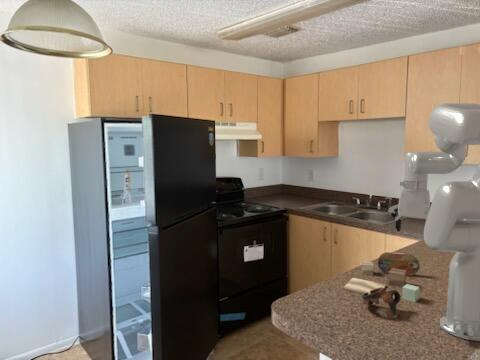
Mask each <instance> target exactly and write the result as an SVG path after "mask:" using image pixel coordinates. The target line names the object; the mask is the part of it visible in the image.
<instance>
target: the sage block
mask: <svg viewBox="0 0 480 360" xmlns="http://www.w3.org/2000/svg"><path fill="white" fill-rule="evenodd" d="M401 289H402V291H401V299H402V300H405V301H408V302H413V303H416V302H417V301H418V300H419V299H420V286H416V285H412V284H408V283H406V284H405V286H403V287H402V288H401Z"/></svg>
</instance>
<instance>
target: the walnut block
mask: <svg viewBox="0 0 480 360" xmlns="http://www.w3.org/2000/svg"><path fill="white" fill-rule="evenodd" d="M406 284H407V276H406V270H400V269H395V268H392V269H391V270H390V271H389V274H388V286H392V287H396V288H401V289H402V287H403V286H405V285H406Z"/></svg>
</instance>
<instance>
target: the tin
mask: <svg viewBox="0 0 480 360" xmlns="http://www.w3.org/2000/svg"><path fill="white" fill-rule="evenodd" d="M377 265H378V269H379V270H380V271H381V272H382V273H384V274H387V275H389V271H390V270H391V269H392V268H395V269H400V270H406V277H408V276H414V275H416V274H417V273H418V272H419V270H420V262H419V259H418V258H417V257H416V256H415V255H413V254H410V253H405V252H403V253H402V252H393V251H392V252H390V251H389V252H387V251H385V252H383V253H381V254H380V255H379V257H378V259H377Z"/></svg>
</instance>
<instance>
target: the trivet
mask: <svg viewBox="0 0 480 360" xmlns="http://www.w3.org/2000/svg"><path fill="white" fill-rule="evenodd" d="M381 287H383V288H384V289H385V288H386V287H387V284H386V283H381V282H378V281H377V282H376V281H372V280H366V279H361V278H356V277H352V278H351V279H350V280H349V281H347V283H346V284H345V285H344V286H343V287H342V290H344V291H349V292H353V293H357V294H360V295H364V294H365V293H368V295H370V294H371V293H370V291H371V290H374V289H377V288H381Z"/></svg>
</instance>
